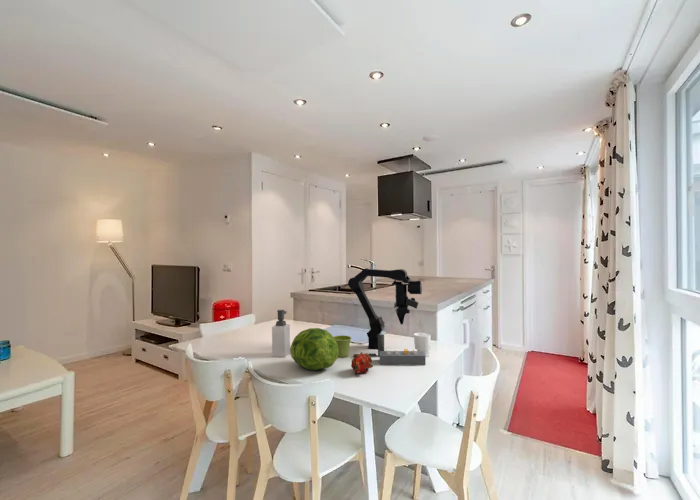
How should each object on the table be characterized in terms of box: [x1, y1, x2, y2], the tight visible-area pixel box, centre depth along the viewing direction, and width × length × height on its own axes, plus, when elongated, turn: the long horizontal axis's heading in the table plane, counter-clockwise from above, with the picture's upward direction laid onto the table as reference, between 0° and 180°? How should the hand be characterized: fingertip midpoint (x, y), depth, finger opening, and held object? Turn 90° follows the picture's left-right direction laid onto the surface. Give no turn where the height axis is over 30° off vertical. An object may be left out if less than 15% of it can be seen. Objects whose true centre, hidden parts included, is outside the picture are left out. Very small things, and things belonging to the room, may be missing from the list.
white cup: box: [413, 332, 432, 358], centre depth 160 cm, size 8×8×10 cm
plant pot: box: [333, 335, 352, 358], centre depth 161 cm, size 9×9×9 cm
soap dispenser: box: [271, 309, 291, 358], centre depth 165 cm, size 6×9×22 cm
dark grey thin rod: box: [352, 352, 377, 358], centre depth 159 cm, size 11×1×1 cm, turn 95°
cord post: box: [377, 334, 385, 358], centre depth 160 cm, size 3×3×10 cm
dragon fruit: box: [350, 352, 374, 375], centre depth 139 cm, size 8×8×12 cm
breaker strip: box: [379, 348, 426, 366], centre depth 151 cm, size 20×7×6 cm, turn 87°
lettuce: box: [289, 327, 339, 371], centre depth 145 cm, size 18×23×19 cm
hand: (401, 324), depth 169 cm, fingers closed
